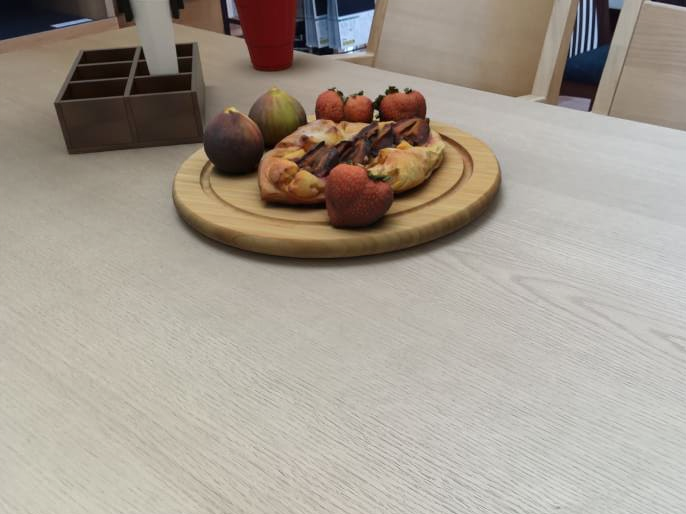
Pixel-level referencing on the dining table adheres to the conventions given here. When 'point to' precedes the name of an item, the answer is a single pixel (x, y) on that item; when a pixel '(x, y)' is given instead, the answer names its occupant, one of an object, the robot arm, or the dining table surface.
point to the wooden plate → (334, 176)
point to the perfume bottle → (156, 35)
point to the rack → (131, 101)
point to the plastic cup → (268, 31)
